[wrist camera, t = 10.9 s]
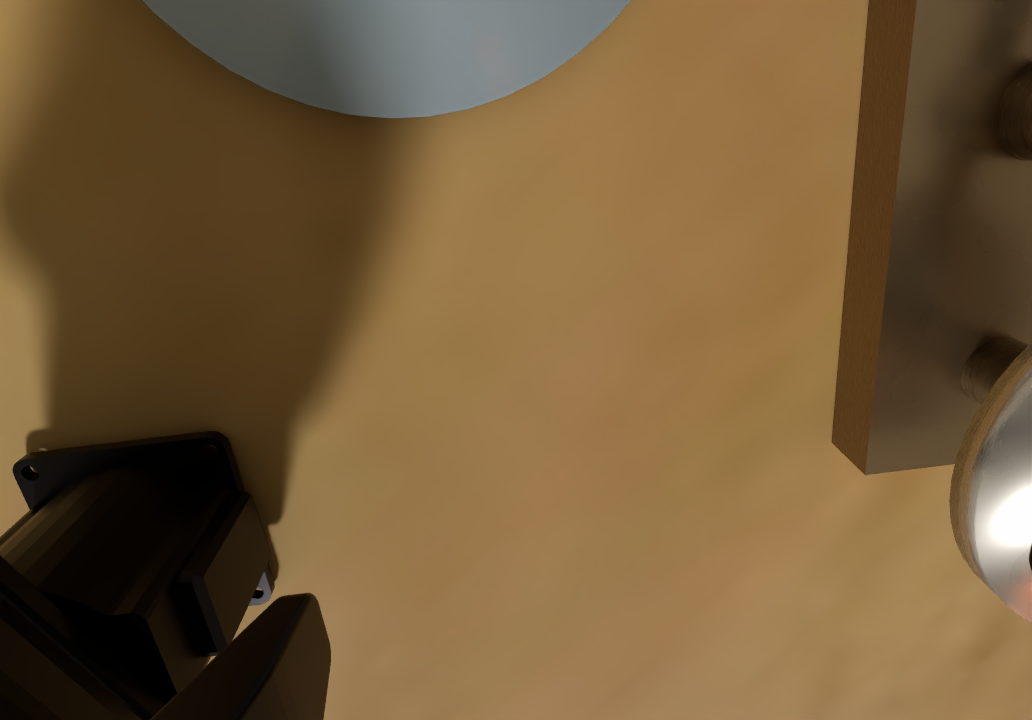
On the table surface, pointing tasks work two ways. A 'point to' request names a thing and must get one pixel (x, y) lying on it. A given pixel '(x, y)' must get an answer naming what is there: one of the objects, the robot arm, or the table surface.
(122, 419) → the table surface
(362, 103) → the dish
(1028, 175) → the balance
